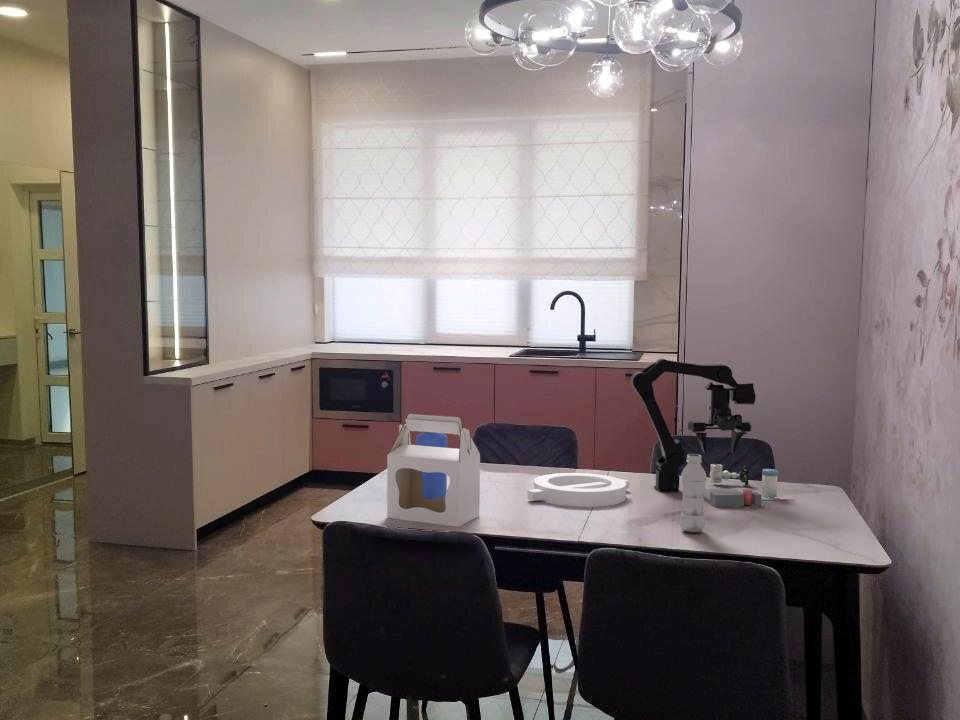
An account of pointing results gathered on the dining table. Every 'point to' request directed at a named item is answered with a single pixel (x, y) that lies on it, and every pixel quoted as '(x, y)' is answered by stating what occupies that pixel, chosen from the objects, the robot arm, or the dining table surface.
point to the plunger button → (747, 497)
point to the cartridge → (769, 483)
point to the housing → (729, 498)
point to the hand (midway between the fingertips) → (718, 453)
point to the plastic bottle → (693, 495)
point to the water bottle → (433, 481)
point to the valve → (727, 474)
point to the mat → (769, 498)
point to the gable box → (412, 459)
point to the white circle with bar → (579, 489)
